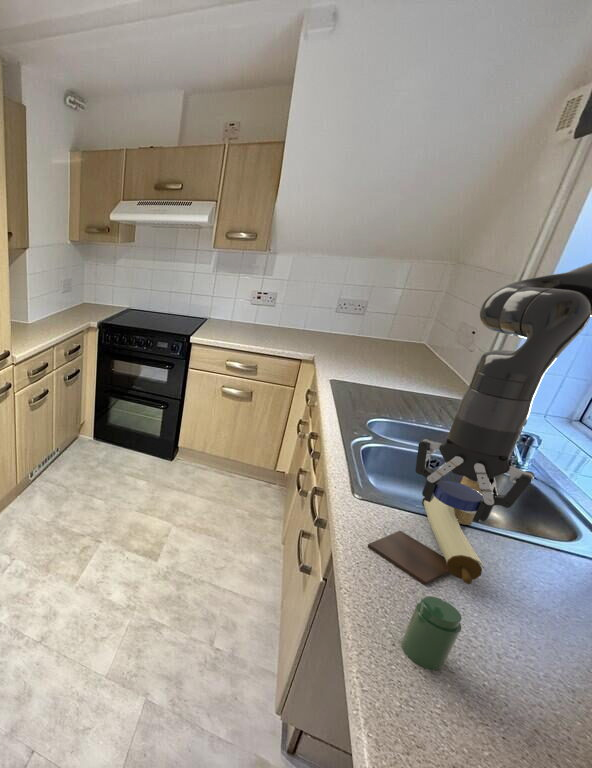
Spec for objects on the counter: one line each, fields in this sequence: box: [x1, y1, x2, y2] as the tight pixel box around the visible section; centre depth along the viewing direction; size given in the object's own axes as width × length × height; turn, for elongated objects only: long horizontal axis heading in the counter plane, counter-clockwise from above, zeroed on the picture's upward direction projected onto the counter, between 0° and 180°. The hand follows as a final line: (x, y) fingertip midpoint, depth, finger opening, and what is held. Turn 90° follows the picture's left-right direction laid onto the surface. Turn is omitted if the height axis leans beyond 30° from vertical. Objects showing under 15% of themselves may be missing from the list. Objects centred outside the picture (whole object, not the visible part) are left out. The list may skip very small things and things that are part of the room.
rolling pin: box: [421, 496, 485, 585], centre depth 88 cm, size 32×6×5 cm, turn 149°
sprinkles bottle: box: [454, 476, 482, 526], centre depth 95 cm, size 5×5×13 cm
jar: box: [400, 595, 463, 671], centre depth 64 cm, size 5×5×10 cm
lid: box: [434, 480, 483, 512], centre depth 68 cm, size 6×6×2 cm
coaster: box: [367, 530, 450, 586], centre depth 85 cm, size 11×11×1 cm
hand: (452, 509), depth 69 cm, fingers closed on lid, 5 cm apart
